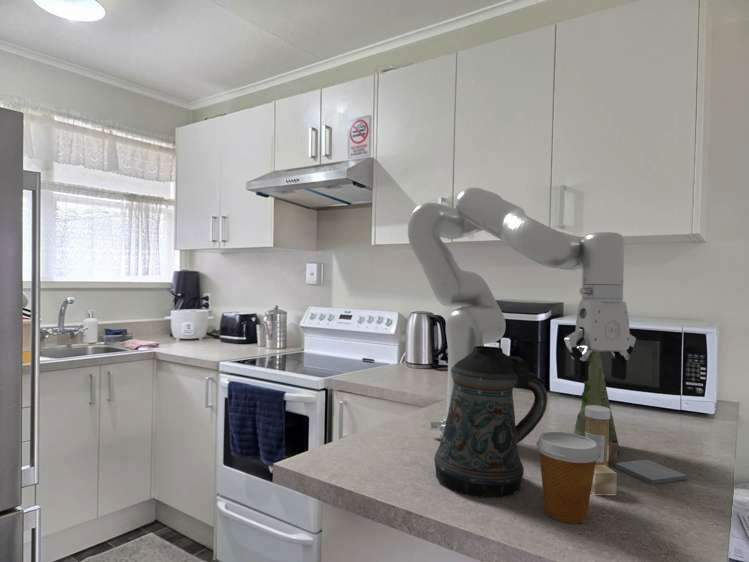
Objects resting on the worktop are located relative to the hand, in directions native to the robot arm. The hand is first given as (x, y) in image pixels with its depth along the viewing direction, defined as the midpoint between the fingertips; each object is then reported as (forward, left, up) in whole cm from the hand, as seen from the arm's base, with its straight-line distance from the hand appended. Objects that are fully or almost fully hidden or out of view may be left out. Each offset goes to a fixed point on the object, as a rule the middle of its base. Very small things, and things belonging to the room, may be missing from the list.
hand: (600, 379), depth 96 cm
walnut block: (+7, +5, -19) cm, 21 cm away
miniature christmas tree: (+12, +13, -19) cm, 26 cm away
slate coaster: (+11, -3, -19) cm, 22 cm away
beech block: (-6, -7, -19) cm, 21 cm away
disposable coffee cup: (-19, -13, -19) cm, 30 cm away
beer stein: (-24, +3, -19) cm, 31 cm away
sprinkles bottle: (-1, -1, -19) cm, 19 cm away
